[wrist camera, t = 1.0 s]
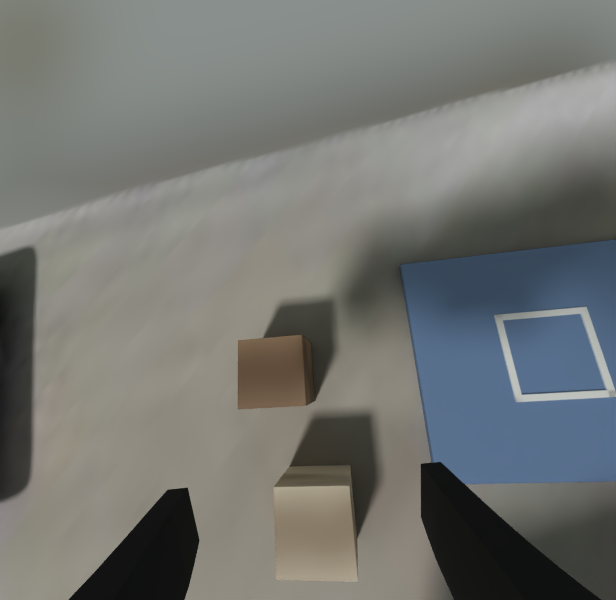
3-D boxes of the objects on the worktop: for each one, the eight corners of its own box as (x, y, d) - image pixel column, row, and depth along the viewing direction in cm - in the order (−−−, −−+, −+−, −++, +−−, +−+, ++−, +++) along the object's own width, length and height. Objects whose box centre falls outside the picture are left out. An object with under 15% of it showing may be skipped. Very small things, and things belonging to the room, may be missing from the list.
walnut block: (315, 400, 20) (306, 405, 16) (259, 404, 20) (237, 409, 17) (311, 342, 21) (301, 334, 17) (258, 347, 22) (238, 340, 18)
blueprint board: (746, 475, 15) (764, 479, 15) (434, 481, 18) (437, 485, 17) (645, 239, 19) (655, 234, 19) (399, 267, 21) (401, 263, 21)
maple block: (357, 538, 17) (357, 581, 14) (292, 538, 18) (275, 579, 14) (350, 464, 19) (349, 485, 15) (289, 466, 19) (273, 487, 15)
